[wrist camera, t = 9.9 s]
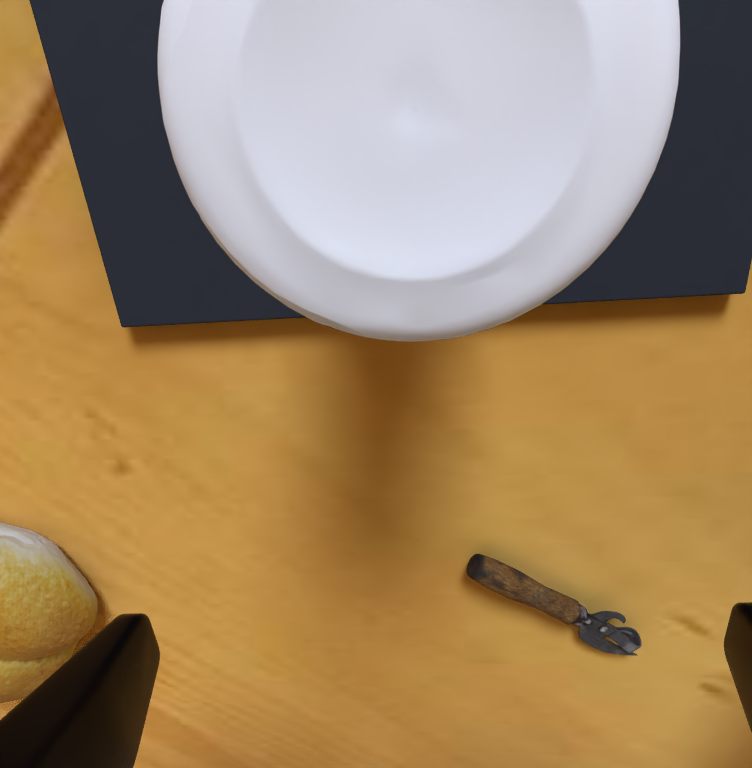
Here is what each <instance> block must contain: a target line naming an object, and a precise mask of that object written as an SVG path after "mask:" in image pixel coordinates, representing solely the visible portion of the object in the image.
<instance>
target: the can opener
mask: <svg viewBox="0 0 752 768" xmlns="http://www.w3.org/2000/svg"><path fill="white" fill-rule="evenodd" d="M467 575H468V576H469V577H470V578H472V579H473V580H475V581H477V582H478V583H480V584H481V585H483V586H485V587H486V588H488V589H490V590H492V591H495V592H497V593H499V594H501V595H503V596H505V597H507V598H510V599H512V600H515V601H518V602H520V603H523V604H526V605H529V606H532V607H534V608H537V609H539V610H541V611H543V612H545V613H547V614H548V615H550V616H552V617H554V618H556V619H558V620H560V621H562V622H564V623H566V624H573V625H576V626H580V629H579V637H580V638H581V639H582V641H584V642H585V643H587V644H588V645H590V646H592V647H594V648H596V649H599V650H601V651H604V652H607V653H612V654H620V655H637V654H635V653H633V651H635V650H637V649H638V648H640V647H641V639H640V636H639V634H638V633H637V631H636V630H634V629H633V628H629V627H615V626H613V625H611V624H609V623H607V621H608V620H609V619H611V618H616V619H619V620H621V621H622V622H623V623H625V621H626V619H625V617H624V616H623V615H622V614H620V613H617V612H612V611H601V612H598V613H595V614H588V613H587V610H586V608H585V607H584V606H582V605H580V604H579V603H578V601H576V600H574V599H572V598H570V597H568V596H566V595H563V594H561V593H559V592H557V591H554V590H552V589H549V588H547V587H545V586H544V585H542V584H540V583H538V582H537V581H535V580H533V579H532V578H530V577H528V576H527V575H525V574H524V573H522V572H520V571H518V570H516V569H514V568H512V567H510V566H508V565H506V564H504V563H502V562H500V561H498V560H495V559H492V558H489V557H487V556H484V555H481V554H475V555H473V557H472V558H471V559H470V561H469V563H468V566H467ZM624 635H625V636H627V637H628V639H629V640H628V639H627V638H626V637H625V636H624ZM606 636H609V637H610V638H611V639H612V640H613V641H615V642H616V643H617V644H618V645H619V646H618V645H616V644H614V643H612V642H610V641H608V640H606V639H604V637H606Z"/></svg>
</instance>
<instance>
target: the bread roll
mask: <svg viewBox="0 0 752 768" xmlns="http://www.w3.org/2000/svg"><path fill="white" fill-rule="evenodd" d="M97 612H98V600H97V597H96V595H95V593H94V591H93V589H92V588H91V587H90V585H89V584H88V581H87V579H86V578H85V577H84V576H83V575H82V574H81V573H80V571H79V570H78V569H77V568H76V567H75V566H74V564H73V563H72V562H71V561H70V560H69V559H68V558H67V557H66V556H65V554H64V553H63V552H62V551H61V550H60V549H59V548H58V547H57V546H56V544H54V543H53V542H51V541H50V540H48V539H46V538H45V537H43V536H41V535H39V534H37V533H35V532H34V531H31V530H28V529H25V528H21V527H17V526H13V525H10V524H6V523H2V522H0V703H3V702H8V701H13V700H17V699H21V698H24V697H27V696H28V695H29V694H30V693H31V692H33V691H34V690H35V689H36V688H37V687H38V686H39V685H40V684H42V683H43V682H44V681H45V680H46V679H47V678H48V677H50V676H51V675H52V674H53V673H54V672H55V671H56V670H57V669H59V668H60V667H61V666H62V665H63V664H64V663H65V662H66V661H68V660H69V659H70V658H71V657H72V656H73V653H74V650H75V648H76V644H77V642H78V641H79V640H81V639H82V638H83V637H84V636H86V635H87V633H88V632H89V631H90V630H91V628H92V627H93V626H94V623H95V619H96V616H97Z"/></svg>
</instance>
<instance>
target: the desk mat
mask: <svg viewBox="0 0 752 768" xmlns="http://www.w3.org/2000/svg"><path fill="white" fill-rule="evenodd" d="M163 2H164V0H30V4H31V7H32V11H33V14H34V18H35V21H36V25H37V28H38V32H39V35H40V39H41V43H42V46H43V50H44V53H45V57H46V60H47V64H48V67H49V71H50V74H51V78H52V82H53V85H54V89H55V92H56V96H57V99H58V103H59V106H60V110H61V113H62V117H63V121H64V124H65V128H66V131H67V135H68V138H69V142H70V145H71V149H72V152H73V156H74V160H75V163H76V167H77V170H78V174H79V177H80V181H81V184H82V188H83V192H84V195H85V199H86V202H87V206H88V209H89V213H90V216H91V220H92V223H93V227H94V231H95V234H96V238H97V241H98V245H99V248H100V252H101V255H102V259H103V262H104V266H105V270H106V273H107V277H108V280H109V284H110V287H111V291H112V294H113V298H114V301H115V305H116V309H117V312H118V316H119V319H120V323H121V326H122V327H137V326H155V325H173V324H192V323H210V322H229V321H247V320H265V319H284V318H302V317H305V316H304V315H302V314H300V313H298V312H296V311H294V310H292V309H291V308H289V307H287V306H286V305H284V304H283V303H282V302H280V301H279V300H277V299H276V298H275V297H273V296H272V295H270V294H269V293H268V292H266V291H265V290H264V289H262V288H261V287H260V286H258V285H257V284H256V283H255V282H254V281H253V280H252V279H251V278H249V277H248V276H247V275H246V274H245V273H244V272H243V271H242V270H241V269H240V268H239V267H238V266H237V265H236V264H235V263H234V262H233V261H232V259H231V258H230V257H229V256H228V255H227V254H226V252H225V251H224V250H223V249H222V248H221V247H220V245H219V244H218V243H217V242H216V240H215V239H214V237H213V236H212V234H211V233H210V231H209V230H208V229H207V227H206V226H205V224H204V223H203V221H202V220H201V218H200V215H199V214H198V212H197V210H196V209H195V207H194V206H193V204H192V202H191V200H190V198H189V196H188V194H187V192H186V189H185V187H184V185H183V183H182V180H181V178H180V175H179V173H178V170H177V167H176V165H175V162H174V159H173V156H172V152H171V148H170V145H169V141H168V137H167V134H166V130H165V126H164V122H163V115H162V108H161V101H160V93H159V82H158V56H157V55H158V40H159V29H160V19H161V10H162V5H163ZM678 4H679V16H680V58H679V80H678V87H677V93H676V99H675V105H674V110H673V116H672V120H671V124H670V128H669V131H668V135H667V139H666V142H665V145H664V147H663V150H662V153H661V155H660V158H659V161H658V163H657V166H656V169H655V171H654V173H653V175H652V177H651V179H650V181H649V183H648V185H647V187H646V189H645V191H644V193H643V195H642V197H641V199H640V201H639V203H638V204H637V206H636V208H635V209H634V211H633V213H632V214H631V216H630V218H629V219H628V221H627V222H626V223H625V225H624V226H623V228H622V230H621V231H620V232H619V234H618V235H617V236H616V237H615V239H614V240H613V241H612V242H611V244H610V245H609V246H608V247H607V248H606V250H605V251H604V252H603V253H602V254H601V255H600V256H599V257H598V258H597V259H596V260H595V261H594V262H593V264H592V265H591V266H590V267H589V268H587V269H586V270H585V271H584V272H583V273H582V274H581V275H579V276H578V277H577V278H576V279H575V280H574V281H573V282H572V283H570V284H569V285H568V286H567V287H566V288H564V289H563V290H562V291H560V292H559V293H557V294H556V295H554V296H553V297H551V298H550V299H548V300H547V301H545V302H544V303H543V304H559V303H577V302H596V301H614V300H632V299H651V298H669V297H687V296H706V295H724V294H742V293H745V290H746V285H747V280H748V275H749V270H750V265H751V260H752V0H678Z"/></svg>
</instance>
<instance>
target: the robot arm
mask: <svg viewBox="0 0 752 768" xmlns="http://www.w3.org/2000/svg"><path fill="white" fill-rule="evenodd" d="M724 651H725V656H726V659H727V662H728V665H729V668H730V671H731V674H732V677H733V680H734V683H735V686H736V688H737V691H738V694H739V697H740V700H741V703H742V706H743V709H744V712H745V715H746V718H747V721H748V724H749V726H750V729H751V732H752V602H751V603H737V604H735V605H734V606H733V608H732V611H731V615H730V619H729V623H728V627H727V631H726V635H725V639H724ZM159 660H160V651H159V646H158V643H157V640H156V637H155V634H154V631H153V628H152V626H151V623H150V620H149V618H148V616H147V615H145V614H142V613H140V614H122V615H119V616H118V617H116V618H115V619H114V620H113V621H112V622H110V623H109V624H108V625H107V626H106V627H105V628H104V629H103V630H101V631H100V632H99V633H98V634H97V635H96V636H95V637H93V638H92V639H91V640H90V641H89V642H88V643H87V644H86V645H84V646H83V647H82V648H81V649H80V650H79V651H78V652H77V653H75V654H74V655H73V656H72V657H71V658H70V659H69V660H68V661H66V662H65V663H64V664H63V665H62V666H61V667H60V668H59V669H57V670H56V671H55V672H54V673H53V674H52V675H51V676H50V677H48V678H47V679H46V680H45V681H44V682H43V683H42V684H40V685H39V686H38V687H37V688H36V689H35V690H34V691H33V692H31V693H30V694H29V695H28V696H27V697H26V698H25V699H24V700H22V701H21V702H20V703H19V704H18V705H17V706H16V707H15V708H13V709H12V710H11V711H10V712H9V713H8V714H7V715H6V716H4V717H3V718H2V719H1V720H0V768H133V766H134V763H135V759H136V756H137V752H138V748H139V744H140V740H141V736H142V732H143V728H144V724H145V720H146V715H147V711H148V707H149V703H150V699H151V695H152V691H153V687H154V682H155V678H156V674H157V670H158V666H159Z"/></svg>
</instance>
